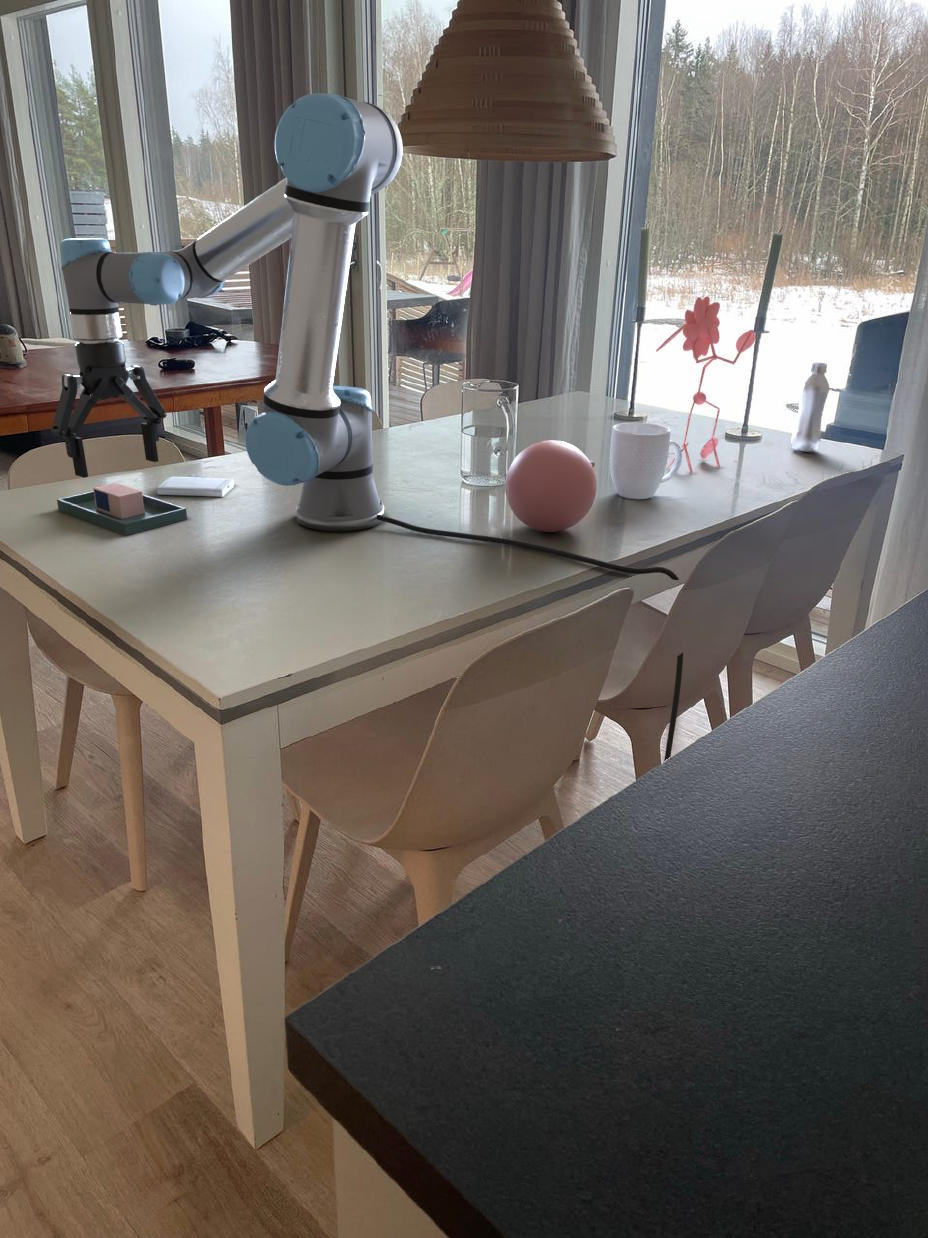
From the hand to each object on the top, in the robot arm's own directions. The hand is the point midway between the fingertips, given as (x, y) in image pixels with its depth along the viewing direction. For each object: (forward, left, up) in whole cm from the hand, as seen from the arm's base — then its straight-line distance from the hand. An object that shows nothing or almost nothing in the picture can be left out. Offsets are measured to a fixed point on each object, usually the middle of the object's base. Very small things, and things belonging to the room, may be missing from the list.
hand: (118, 468), depth 160 cm
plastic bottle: (-73, -133, -9) cm, 152 cm away
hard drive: (+3, -18, -9) cm, 20 cm away
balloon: (-61, -46, -9) cm, 76 cm away
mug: (-62, -74, -9) cm, 97 cm away
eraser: (+1, 0, -8) cm, 8 cm away
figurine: (-57, -102, -9) cm, 117 cm away
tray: (0, 0, -8) cm, 8 cm away
